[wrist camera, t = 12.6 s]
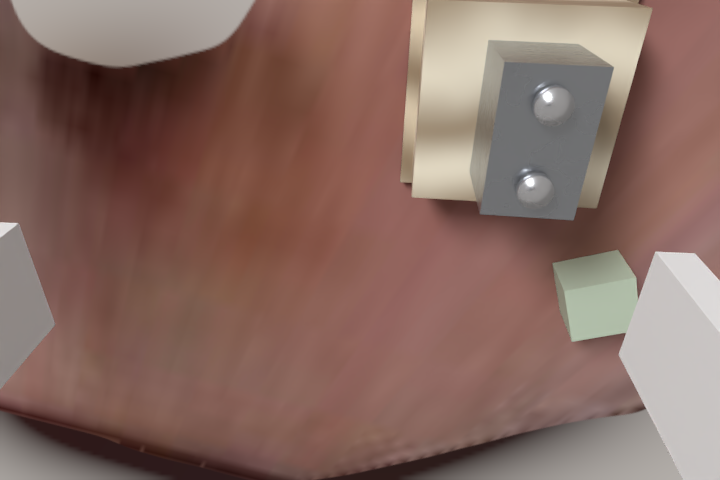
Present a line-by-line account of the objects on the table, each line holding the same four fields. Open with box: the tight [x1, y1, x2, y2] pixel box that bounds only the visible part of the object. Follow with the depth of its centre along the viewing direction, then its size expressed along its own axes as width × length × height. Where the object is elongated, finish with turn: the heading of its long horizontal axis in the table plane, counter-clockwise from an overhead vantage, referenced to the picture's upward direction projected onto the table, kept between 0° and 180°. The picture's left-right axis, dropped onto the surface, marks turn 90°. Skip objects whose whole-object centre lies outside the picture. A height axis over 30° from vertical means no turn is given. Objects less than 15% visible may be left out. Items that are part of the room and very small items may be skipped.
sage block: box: [552, 250, 638, 342], centre depth 41 cm, size 5×5×4 cm
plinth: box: [400, 0, 653, 208], centre depth 34 cm, size 14×14×5 cm
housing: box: [469, 40, 614, 220], centre depth 29 cm, size 5×8×7 cm, turn 178°
